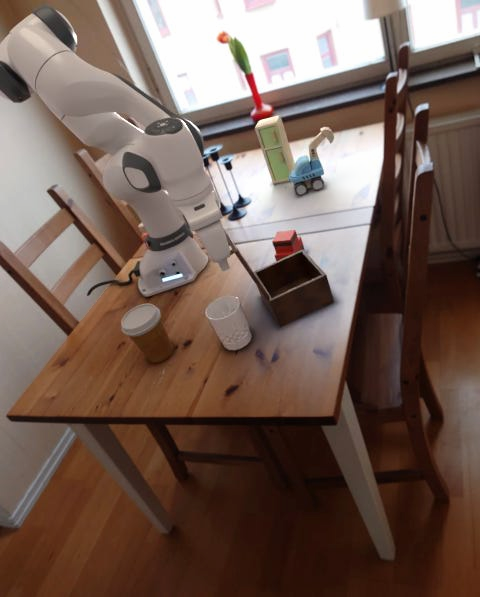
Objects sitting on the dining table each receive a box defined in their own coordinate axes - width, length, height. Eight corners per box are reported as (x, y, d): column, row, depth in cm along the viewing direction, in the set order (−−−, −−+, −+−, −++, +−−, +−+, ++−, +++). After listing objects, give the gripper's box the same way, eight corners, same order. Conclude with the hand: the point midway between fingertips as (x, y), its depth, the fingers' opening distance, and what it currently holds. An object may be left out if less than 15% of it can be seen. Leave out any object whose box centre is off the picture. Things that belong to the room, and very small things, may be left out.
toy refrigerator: (272, 185, 167) (253, 128, 155) (276, 176, 172) (258, 120, 161) (293, 181, 164) (276, 122, 152) (297, 171, 169) (281, 114, 157)
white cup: (235, 325, 112) (220, 292, 106) (260, 332, 107) (246, 298, 101) (214, 347, 108) (198, 315, 102) (240, 356, 103) (224, 322, 97)
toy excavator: (345, 182, 150) (333, 130, 140) (294, 198, 153) (279, 148, 144) (340, 172, 157) (329, 122, 147) (292, 187, 160) (278, 139, 151)
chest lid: (221, 224, 104) (205, 235, 104) (237, 250, 93) (218, 262, 93) (252, 270, 112) (237, 280, 112) (270, 298, 101) (253, 310, 101)
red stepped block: (297, 268, 121) (289, 243, 117) (279, 269, 124) (270, 244, 119) (305, 250, 127) (297, 225, 122) (287, 252, 129) (279, 227, 125)
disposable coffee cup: (138, 352, 116) (115, 316, 109) (172, 333, 118) (152, 296, 111) (147, 374, 108) (123, 336, 102) (184, 353, 110) (162, 315, 103)
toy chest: (311, 274, 117) (303, 248, 113) (334, 302, 106) (326, 274, 102) (261, 297, 117) (251, 272, 112) (279, 327, 106) (269, 301, 101)
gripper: (173, 192, 101) (197, 245, 109) (190, 227, 85) (217, 287, 92) (200, 180, 102) (222, 233, 109) (222, 213, 85) (246, 274, 93)
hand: (220, 258), depth 101 cm, fingers open, 8 cm apart
